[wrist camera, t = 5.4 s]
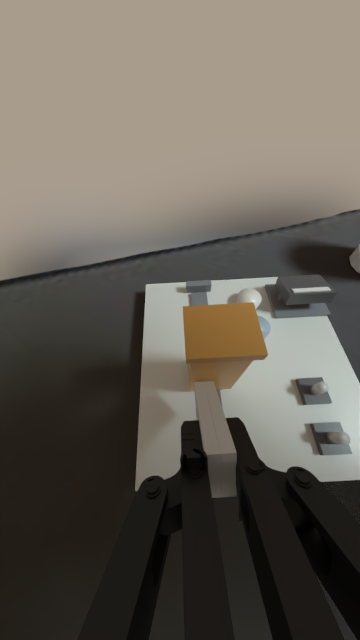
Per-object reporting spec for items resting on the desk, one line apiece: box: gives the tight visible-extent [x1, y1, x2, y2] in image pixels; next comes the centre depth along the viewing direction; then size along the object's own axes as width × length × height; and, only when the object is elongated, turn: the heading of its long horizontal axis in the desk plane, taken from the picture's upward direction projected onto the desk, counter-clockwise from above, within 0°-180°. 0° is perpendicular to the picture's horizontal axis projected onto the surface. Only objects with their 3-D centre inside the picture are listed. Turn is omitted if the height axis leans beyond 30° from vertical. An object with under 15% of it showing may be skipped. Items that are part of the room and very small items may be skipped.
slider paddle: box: [183, 302, 268, 391], centre depth 17 cm, size 5×4×10 cm
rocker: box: [275, 275, 337, 305], centre depth 24 cm, size 5×4×2 cm
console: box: [135, 277, 360, 491], centre depth 22 cm, size 22×22×4 cm
